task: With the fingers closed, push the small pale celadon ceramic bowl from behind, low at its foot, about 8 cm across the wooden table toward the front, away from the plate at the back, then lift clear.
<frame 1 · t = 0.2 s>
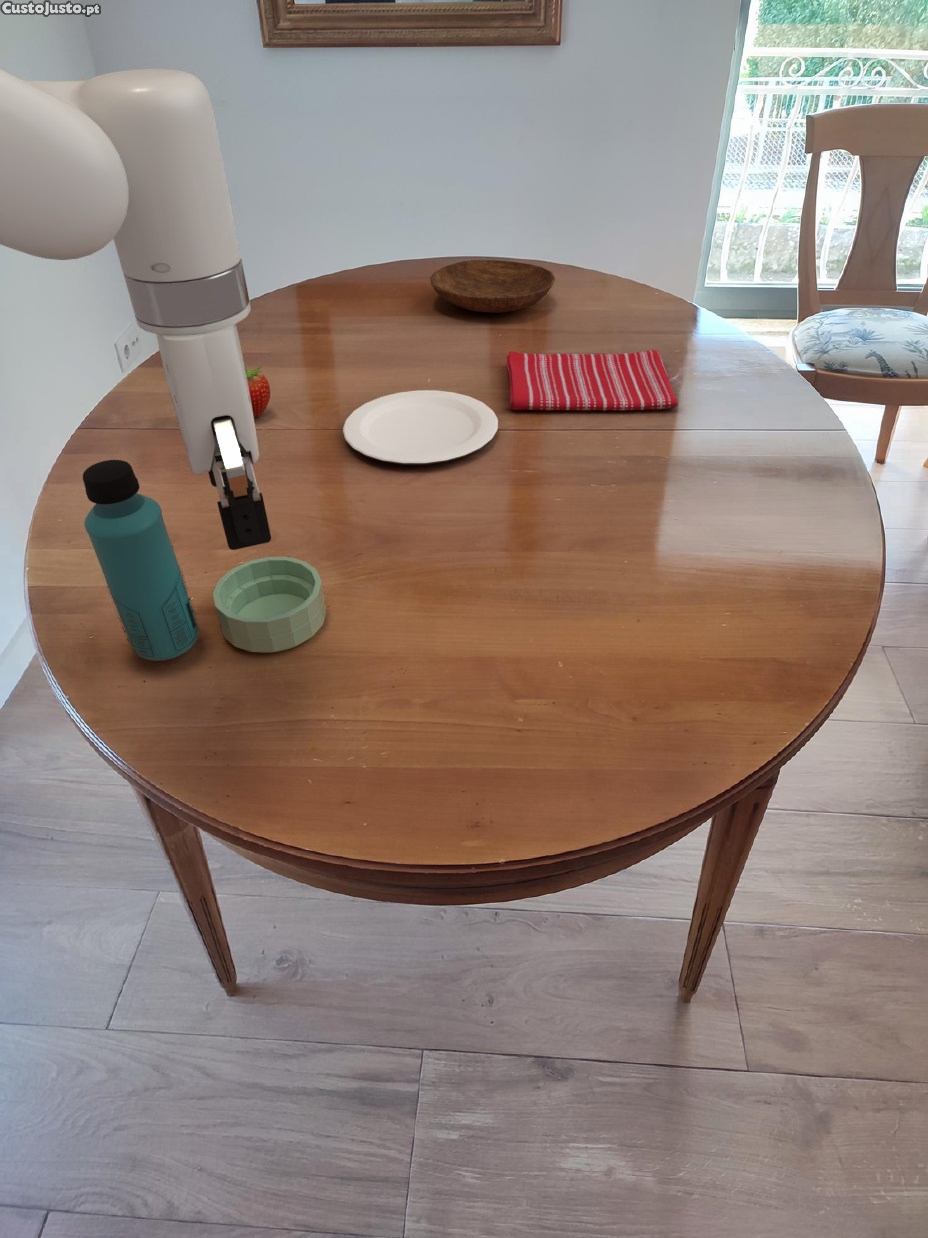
hand: (240, 511, 67), 18 cm above the table, tool pointing down, fingers open, 9 cm apart
celadon bowl: (275, 623, 84), on the table
fruit: (255, 419, 118), on the table
bowl: (492, 307, 150), on the table
dish towel: (587, 389, 123), on the table
plate: (421, 435, 113), on the table
beverage bottle: (169, 652, 81), on the table
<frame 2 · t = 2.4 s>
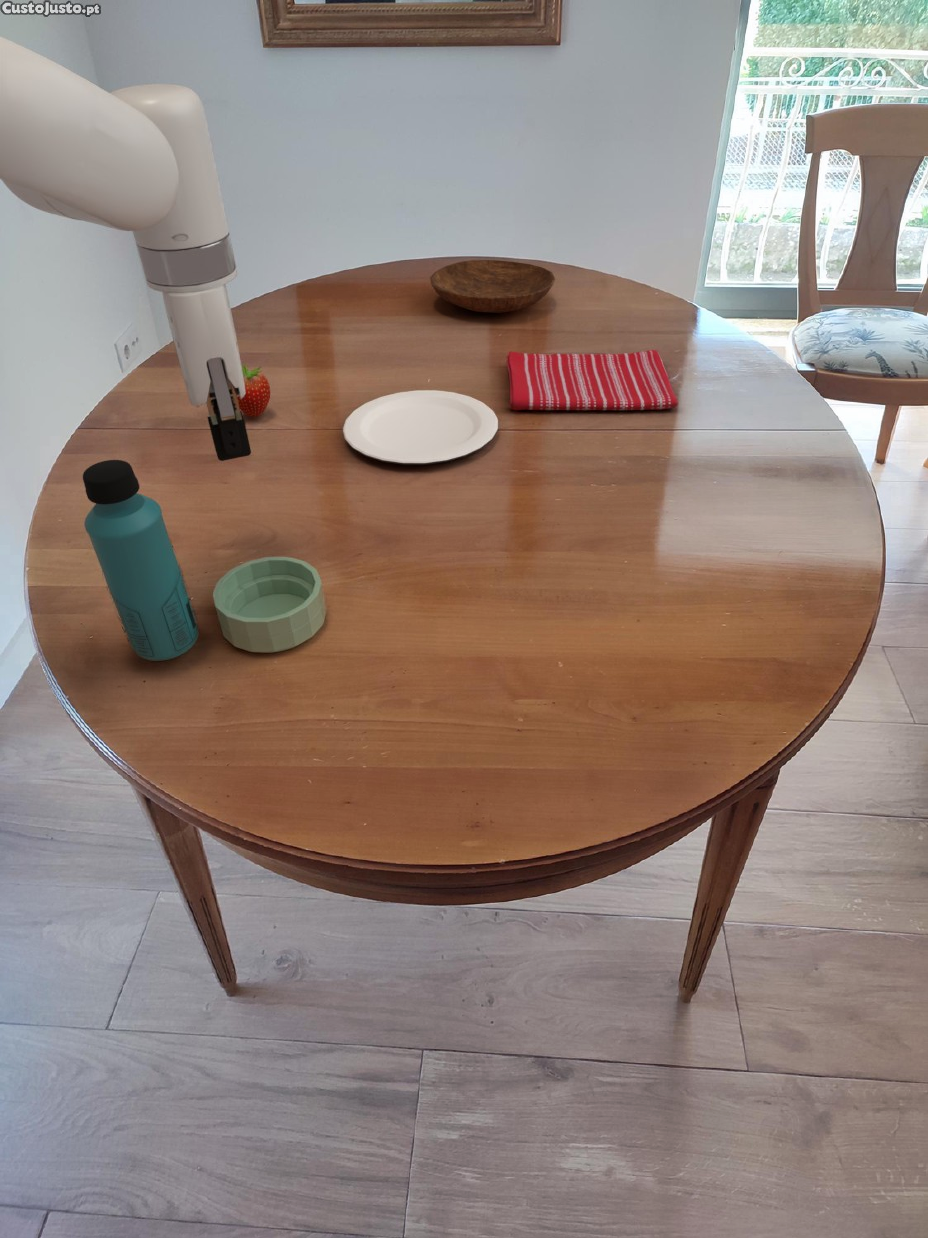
hand: (234, 454, 82), 14 cm above the table, tool pointing down, fingers closed
nothing on the table moved.
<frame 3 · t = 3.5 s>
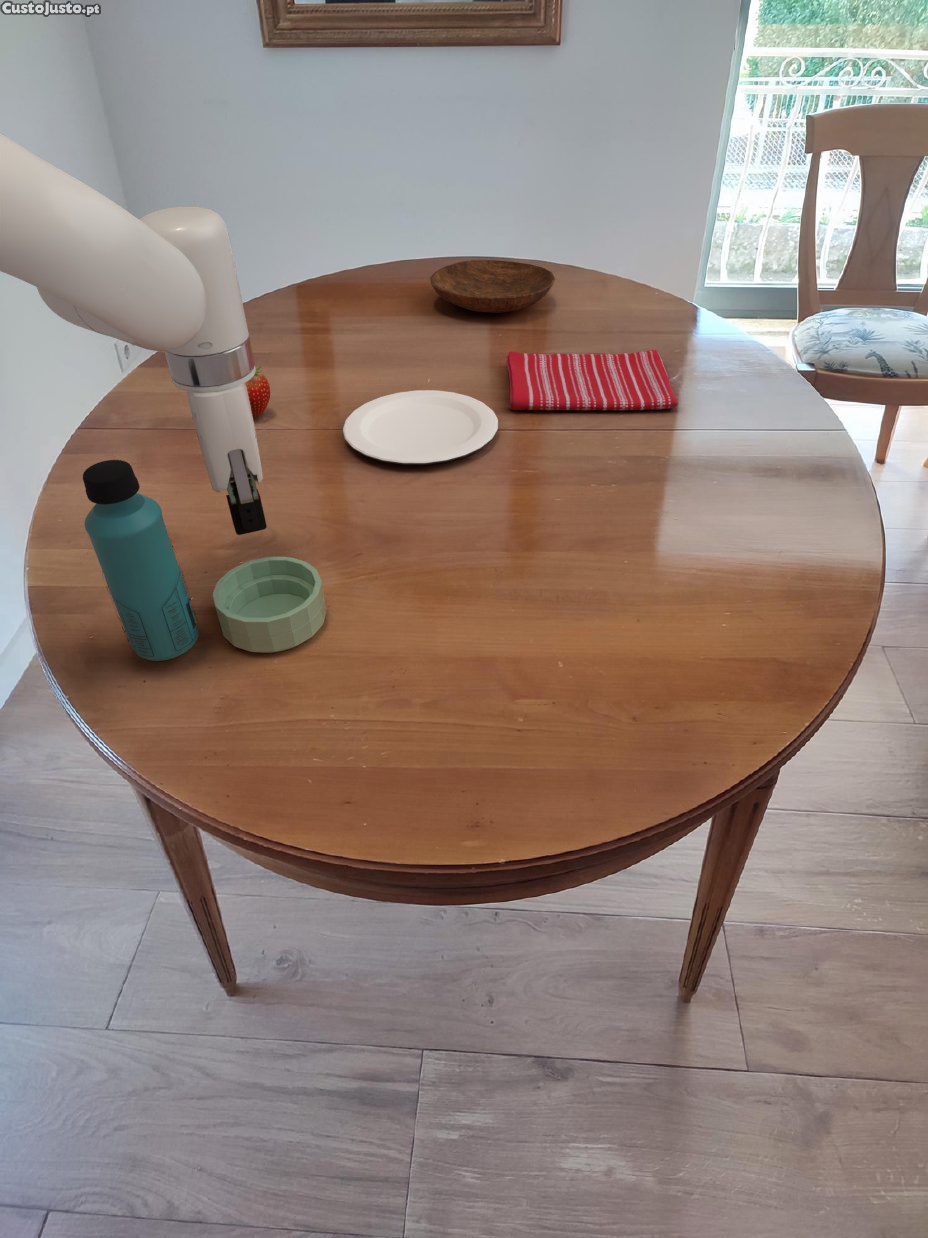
hand: (250, 527, 88), 5 cm above the table, tool pointing down, fingers closed
nothing on the table moved.
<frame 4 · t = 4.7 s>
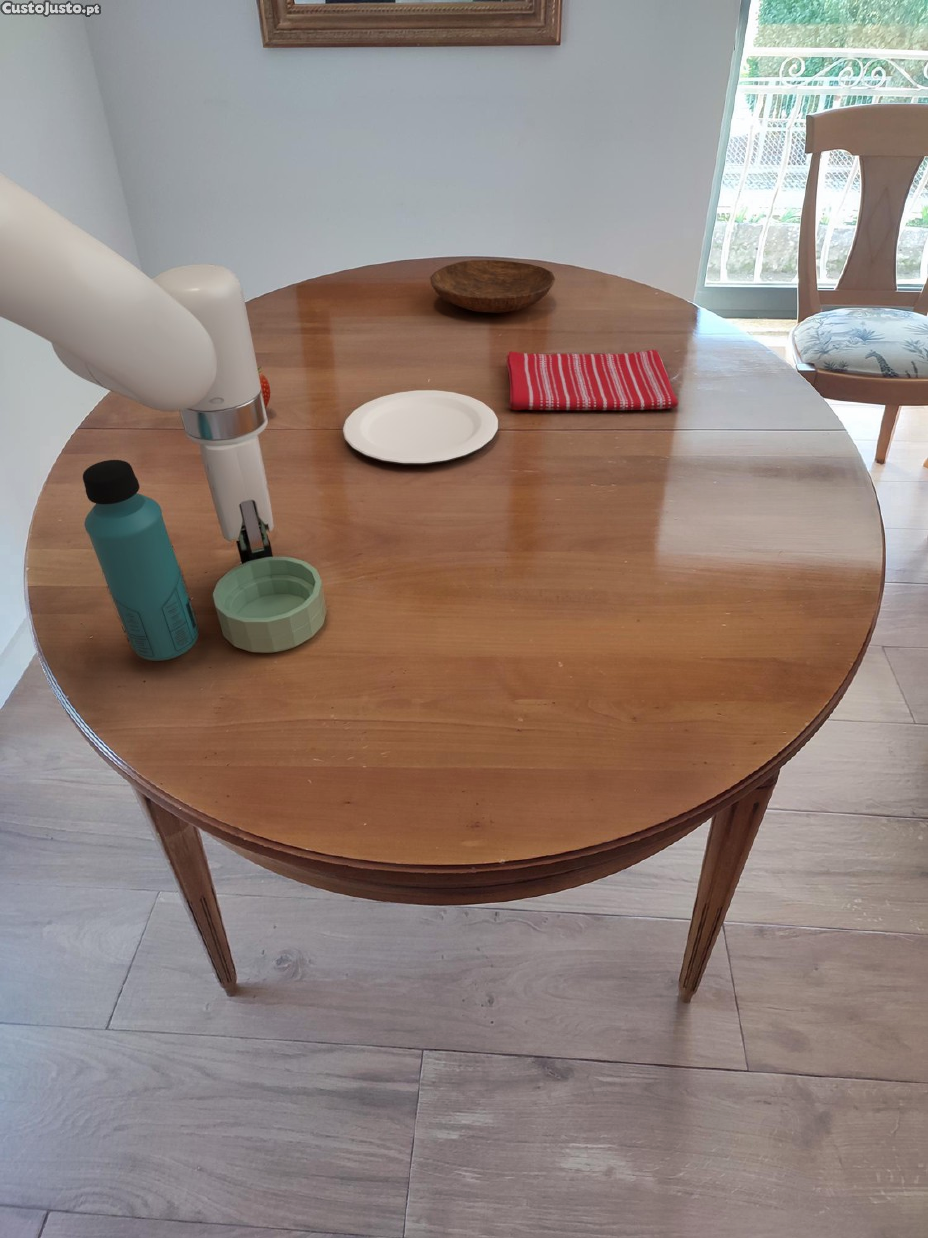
hand: (260, 572, 88), 1 cm above the table, tool pointing down, fingers closed
celadon bowl: (275, 623, 84), on the table, touching gripper
everything else where it was.
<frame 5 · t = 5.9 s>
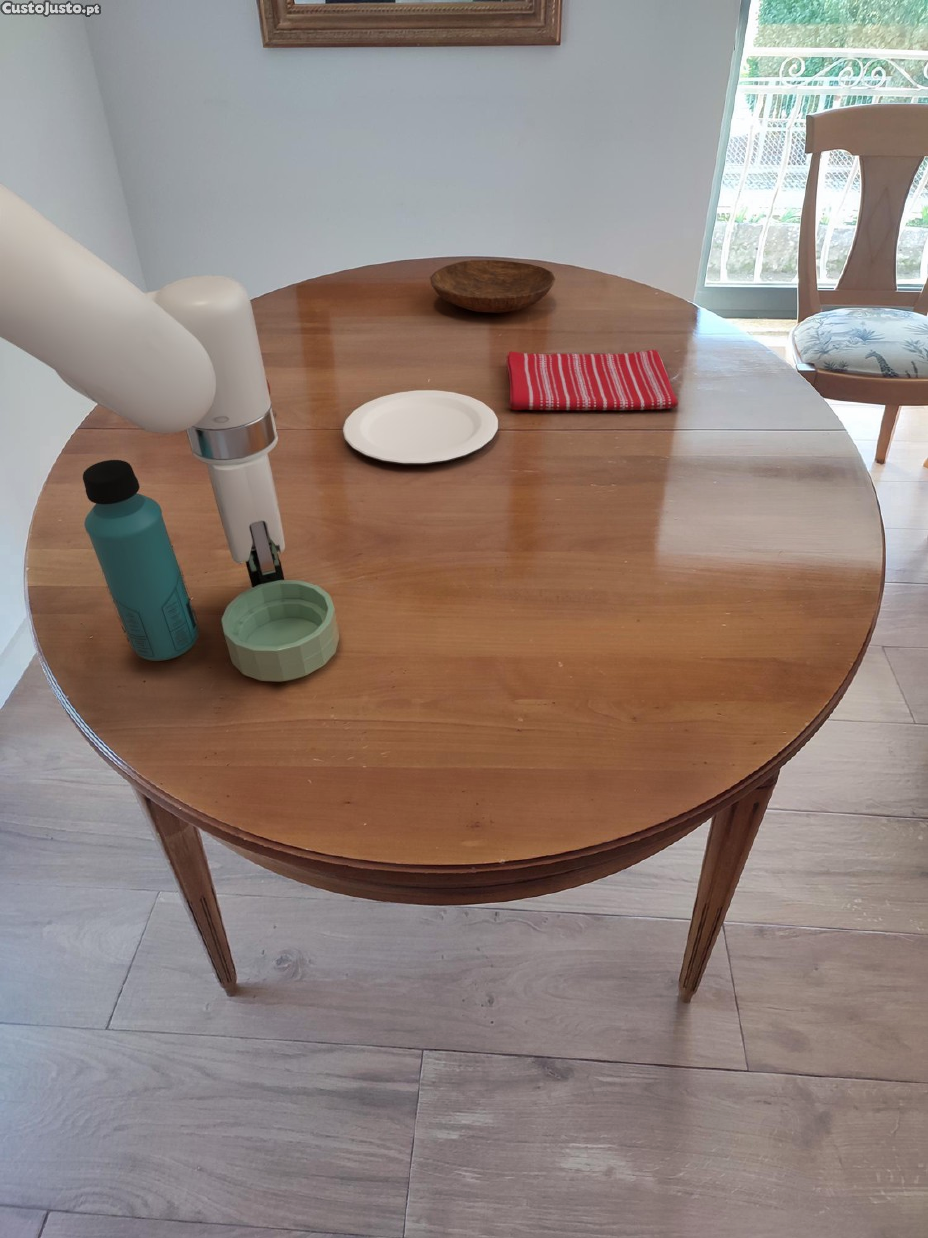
hand: (270, 592, 85), 2 cm above the table, tool pointing down, fingers closed
celadon bowl: (286, 649, 80), on the table, touching gripper
everything else where it was.
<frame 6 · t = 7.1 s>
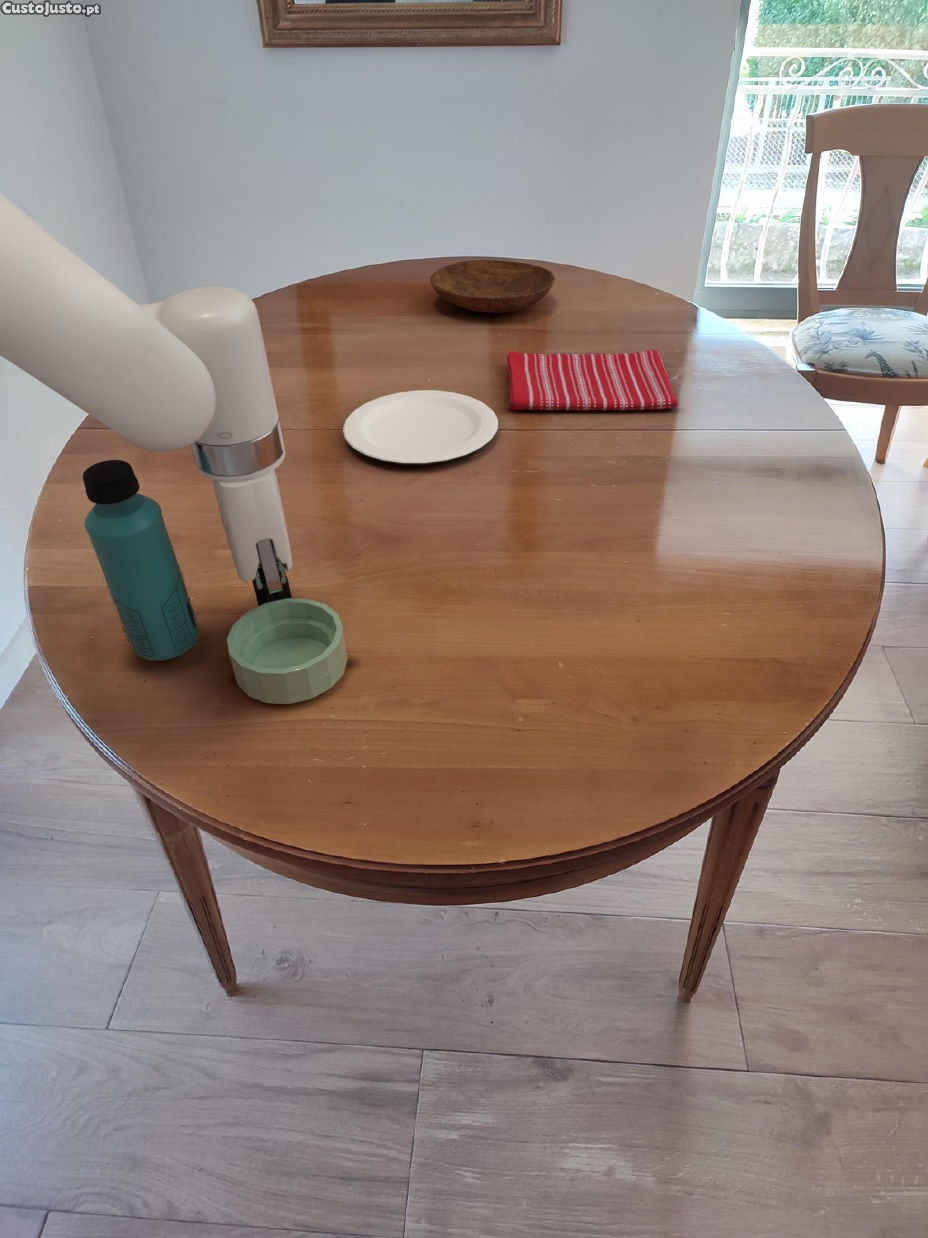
hand: (277, 610, 83), 2 cm above the table, tool pointing down, fingers closed
celadon bowl: (292, 670, 78), on the table, touching gripper
everything else where it was.
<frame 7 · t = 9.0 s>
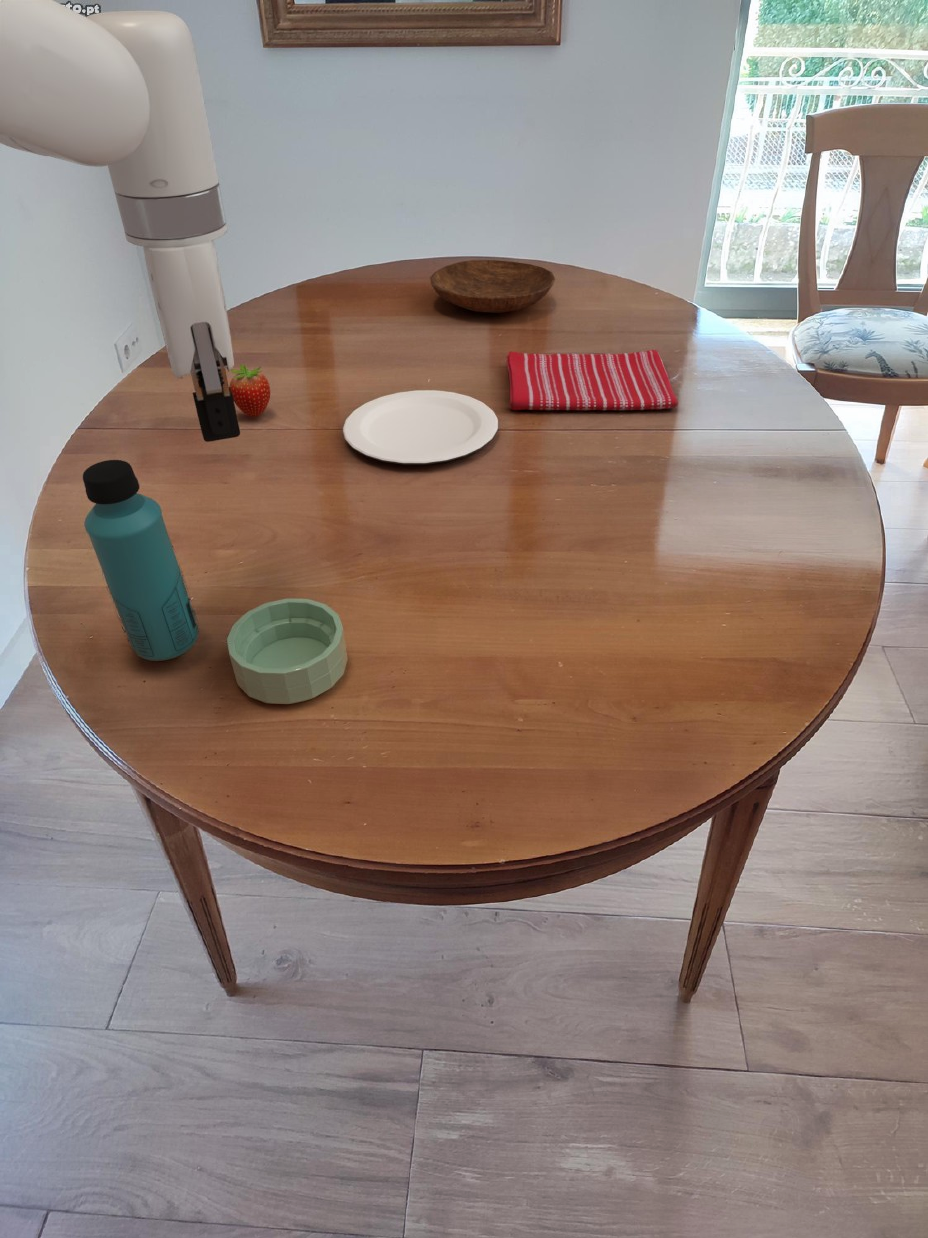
hand: (221, 434, 75), 19 cm above the table, tool pointing down, fingers closed
celadon bowl: (292, 670, 78), on the table
everything else where it was.
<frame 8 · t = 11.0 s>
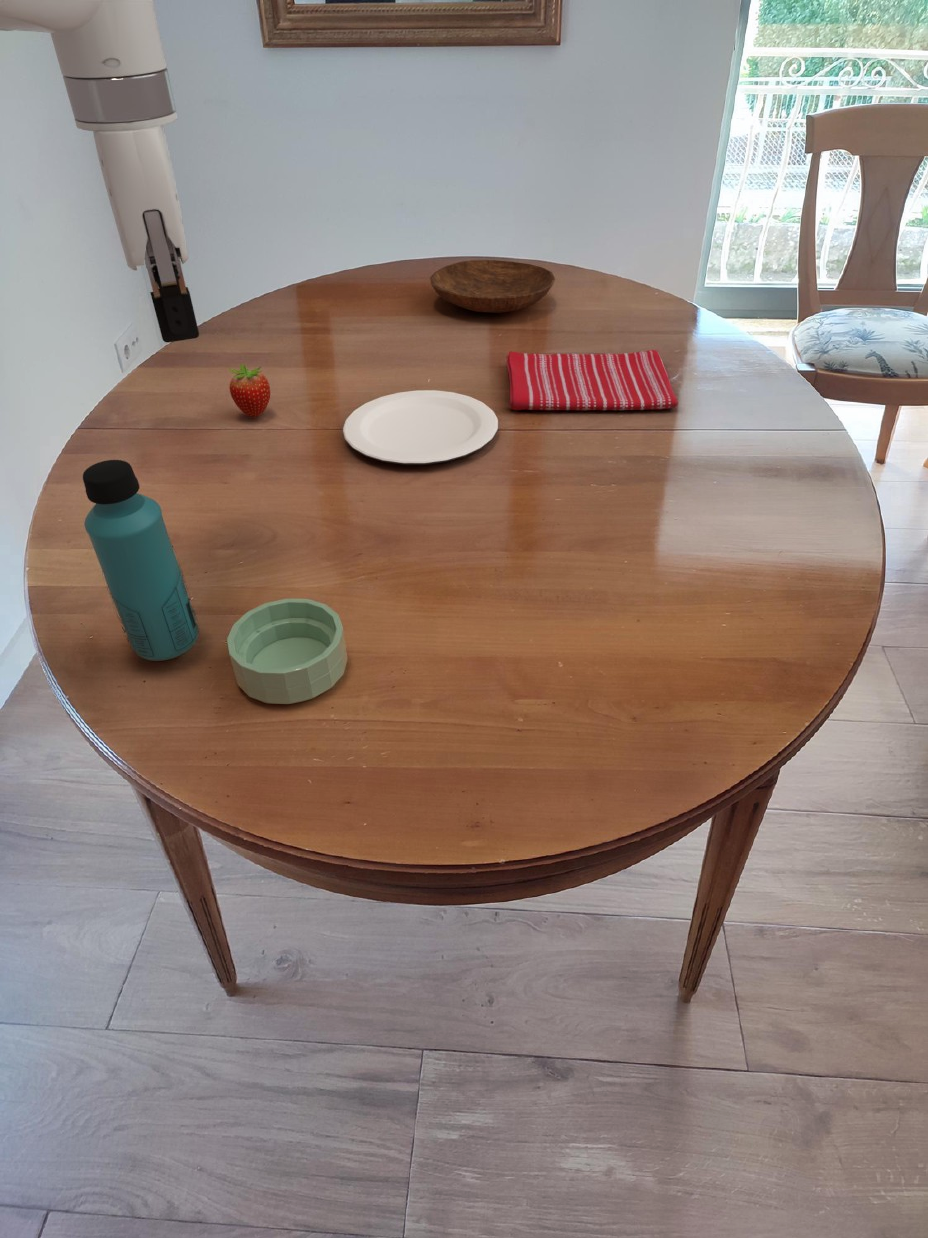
hand: (180, 336, 76), 25 cm above the table, tool pointing down, fingers closed
nothing on the table moved.
at the end: celadon bowl moved 7.4 cm from its start; celadon bowl tilted 0° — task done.
